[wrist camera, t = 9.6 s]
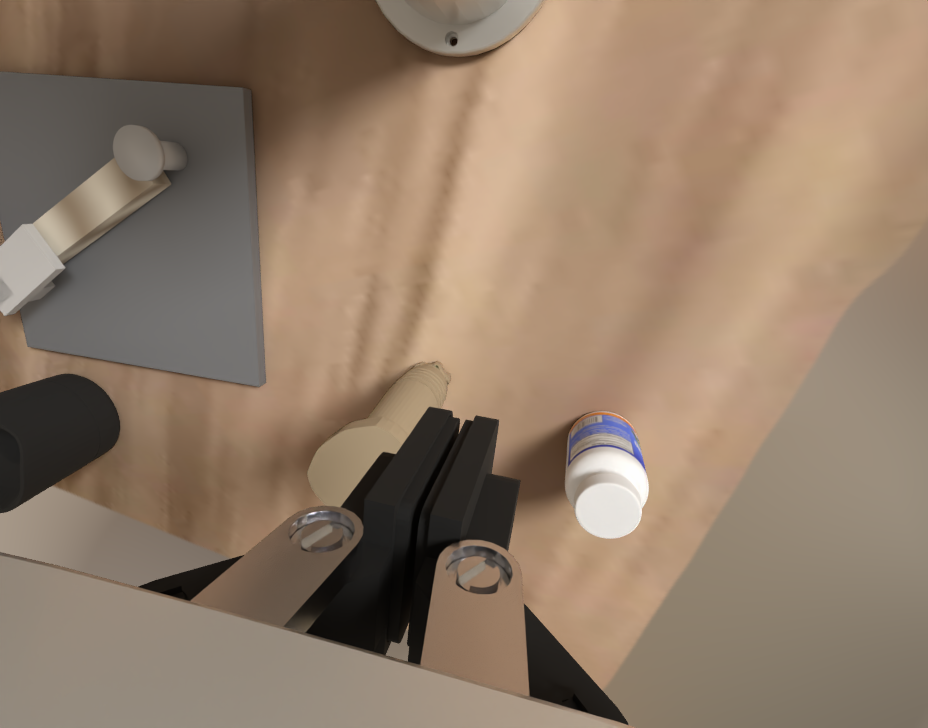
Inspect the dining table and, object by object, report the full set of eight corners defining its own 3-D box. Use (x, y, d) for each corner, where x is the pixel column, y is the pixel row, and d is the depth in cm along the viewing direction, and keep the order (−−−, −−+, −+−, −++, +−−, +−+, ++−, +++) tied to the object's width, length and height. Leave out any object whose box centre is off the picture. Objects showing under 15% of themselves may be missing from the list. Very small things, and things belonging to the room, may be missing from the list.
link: (148, 147, 39) (129, 145, 37) (171, 184, 39) (153, 183, 38) (35, 236, 43) (13, 238, 42) (57, 268, 44) (36, 271, 42)
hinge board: (-19, 72, 41) (-92, 57, 37) (251, 90, 37) (206, 76, 33) (37, 343, 49) (-16, 359, 44) (265, 382, 45) (231, 404, 40)
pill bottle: (630, 476, 41) (646, 558, 32) (562, 464, 41) (558, 541, 32) (644, 414, 39) (664, 482, 30) (572, 403, 40) (570, 466, 31)
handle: (481, 380, 41) (431, 480, 27) (421, 419, 43) (346, 531, 29) (444, 331, 40) (373, 408, 26) (385, 374, 42) (291, 466, 28)
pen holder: (122, 381, 48) (14, 426, 39) (129, 465, 52) (31, 526, 42) (38, 358, 50) (-86, 397, 40) (49, 442, 53) (-63, 495, 44)
